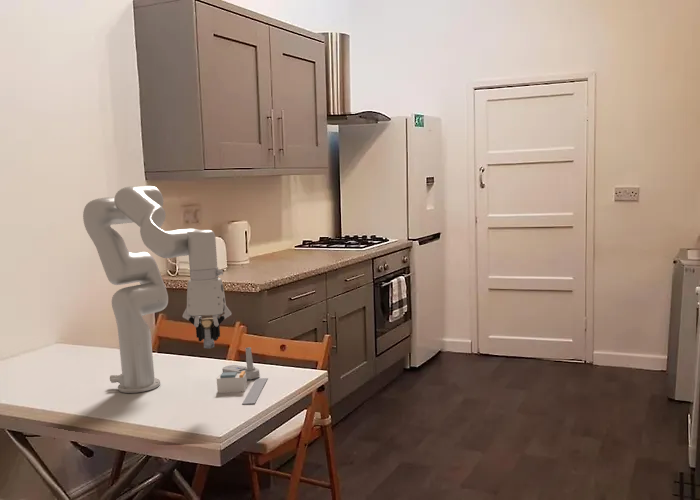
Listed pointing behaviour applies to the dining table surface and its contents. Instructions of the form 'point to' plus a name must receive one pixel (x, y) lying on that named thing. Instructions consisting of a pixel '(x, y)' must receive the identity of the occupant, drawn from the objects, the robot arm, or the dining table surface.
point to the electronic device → (249, 370)
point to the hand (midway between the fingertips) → (208, 339)
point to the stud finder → (231, 382)
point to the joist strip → (255, 391)
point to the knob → (208, 332)
